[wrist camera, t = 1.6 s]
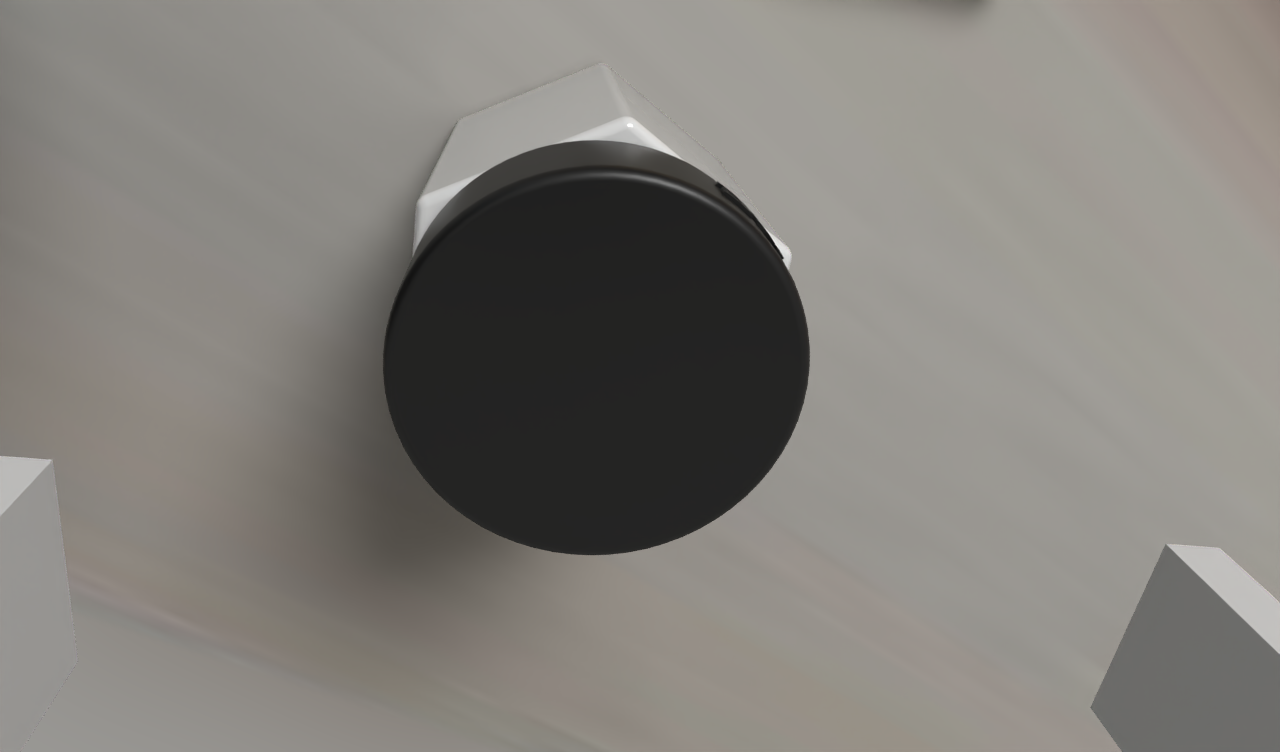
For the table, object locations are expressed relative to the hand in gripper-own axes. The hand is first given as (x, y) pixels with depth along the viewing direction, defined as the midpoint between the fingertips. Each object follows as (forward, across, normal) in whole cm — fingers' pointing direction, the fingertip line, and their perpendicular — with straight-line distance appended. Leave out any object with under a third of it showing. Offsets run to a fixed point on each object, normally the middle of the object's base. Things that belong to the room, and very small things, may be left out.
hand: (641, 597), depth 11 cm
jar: (+19, 0, 0) cm, 19 cm away
